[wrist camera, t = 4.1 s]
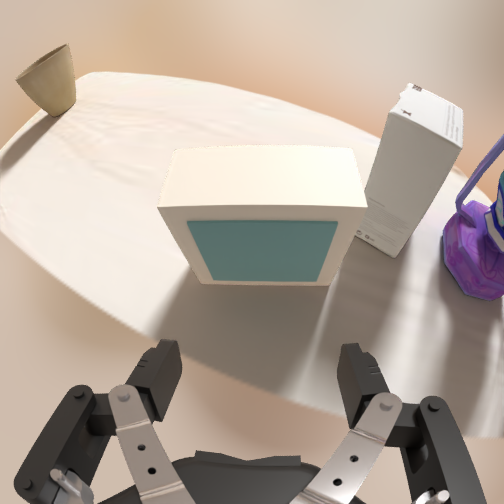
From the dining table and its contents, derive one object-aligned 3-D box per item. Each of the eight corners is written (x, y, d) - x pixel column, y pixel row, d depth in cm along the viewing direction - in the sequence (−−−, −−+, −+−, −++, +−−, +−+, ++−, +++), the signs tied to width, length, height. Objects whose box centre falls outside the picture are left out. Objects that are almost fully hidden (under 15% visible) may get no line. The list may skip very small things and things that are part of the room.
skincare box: (394, 260, 26) (467, 155, 13) (345, 231, 28) (387, 110, 14) (415, 207, 29) (468, 109, 15) (372, 183, 30) (408, 77, 17)
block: (325, 239, 27) (351, 148, 17) (329, 287, 25) (368, 210, 14) (207, 238, 28) (174, 149, 18) (201, 285, 26) (155, 209, 15)
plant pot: (99, 90, 50) (78, 39, 36) (53, 129, 45) (24, 76, 30) (73, 90, 54) (54, 47, 40) (34, 124, 49) (9, 81, 35)
